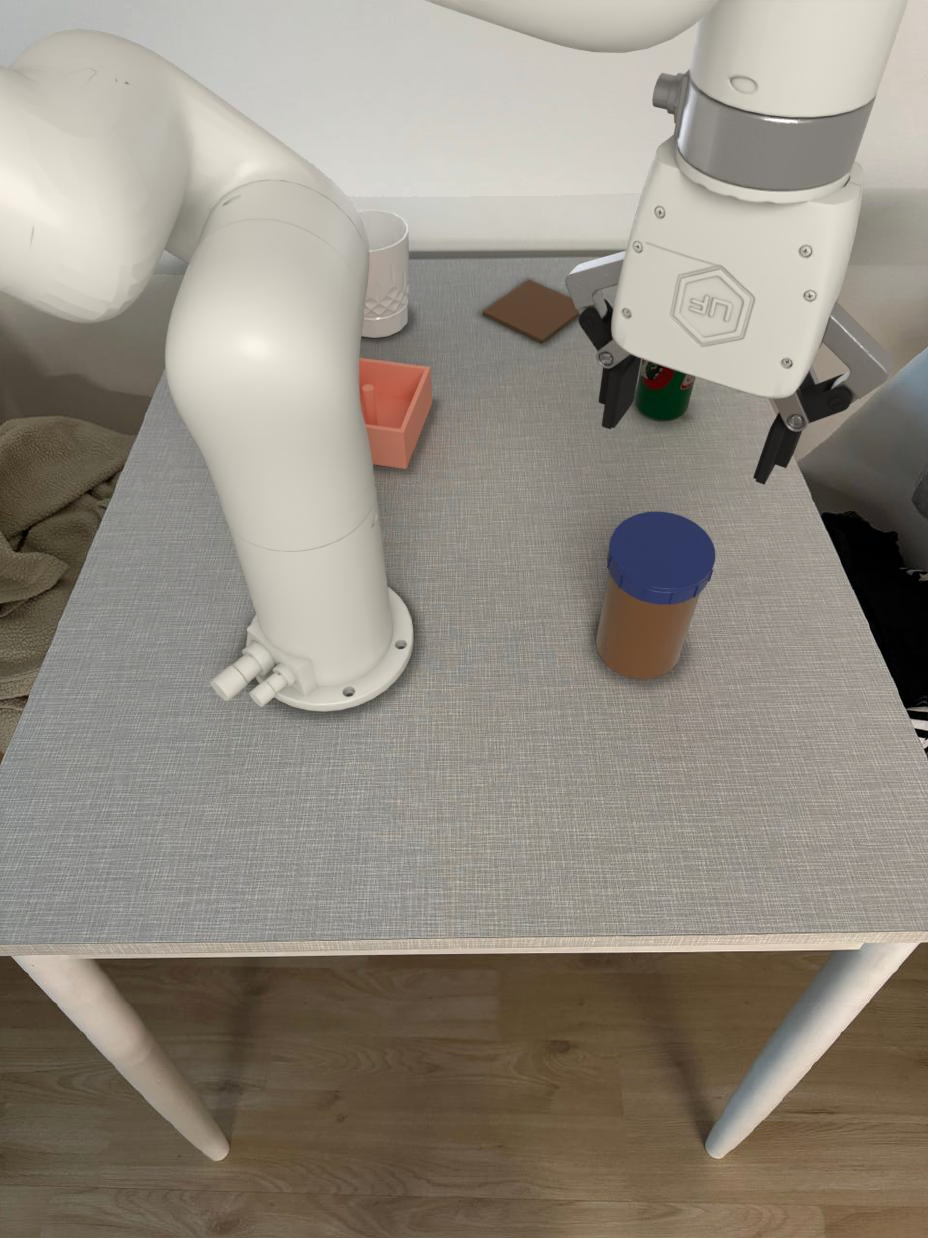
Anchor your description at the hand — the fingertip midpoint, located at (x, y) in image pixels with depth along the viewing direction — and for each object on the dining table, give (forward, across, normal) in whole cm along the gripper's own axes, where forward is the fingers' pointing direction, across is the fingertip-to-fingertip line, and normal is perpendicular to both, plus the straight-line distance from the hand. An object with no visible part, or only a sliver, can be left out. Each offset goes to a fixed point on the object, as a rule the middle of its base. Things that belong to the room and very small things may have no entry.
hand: (690, 440), depth 51 cm
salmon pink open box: (+20, -36, +9) cm, 42 cm away
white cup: (+20, -41, +26) cm, 53 cm away
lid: (+10, 0, 0) cm, 10 cm away
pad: (+20, -27, +35) cm, 49 cm away
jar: (+20, 0, 0) cm, 20 cm away
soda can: (+20, -9, +27) cm, 35 cm away
